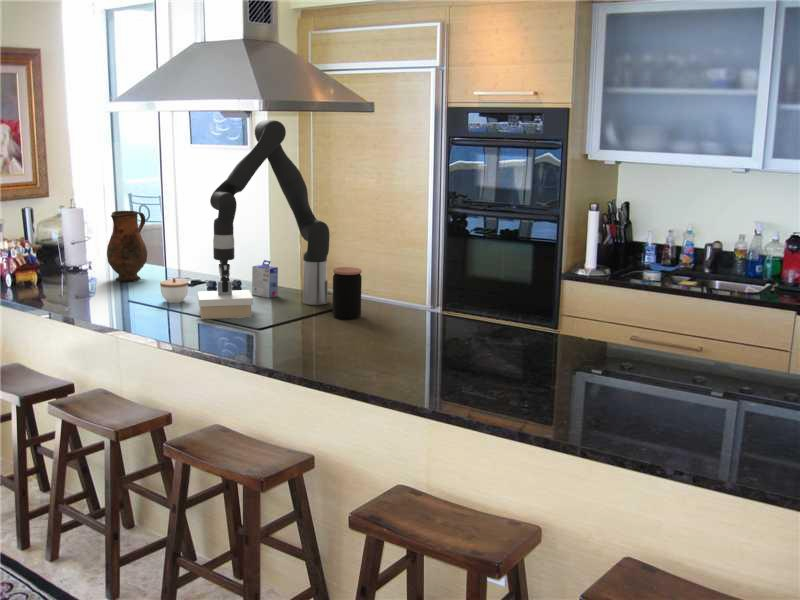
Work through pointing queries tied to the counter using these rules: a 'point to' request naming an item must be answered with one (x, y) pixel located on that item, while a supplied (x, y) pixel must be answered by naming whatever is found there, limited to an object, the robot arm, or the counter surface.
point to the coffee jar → (347, 293)
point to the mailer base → (225, 311)
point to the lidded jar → (174, 290)
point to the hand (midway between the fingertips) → (224, 289)
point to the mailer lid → (225, 297)
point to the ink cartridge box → (265, 280)
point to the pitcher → (127, 246)
